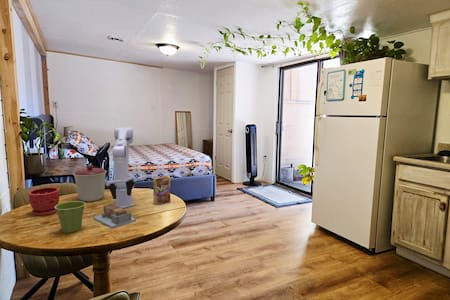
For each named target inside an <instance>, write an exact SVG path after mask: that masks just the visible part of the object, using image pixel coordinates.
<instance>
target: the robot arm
mask: <svg viewBox="0 0 450 300" xmlns="http://www.w3.org/2000/svg"><path fill="white" fill-rule="evenodd" d="M113 137H114V141H115V143H114V146H113V147H112V149H111V152H112V153H111V154H112V158H113V159H112V161H113V166H114V167H113V168H114V169H113V171H114V179H110V180H105V186H106V187H107V188H108V189H109V192H110V193H111V197H112V199H113V200H115V203H114V204H113V205H115V206H117V207H120V208H122V209H125V208H129V207H133V206H135V205H136V203H134V202H133V194H132V193H133V189H134V188H135V181H136V176H134V174H133V173H132V172H130V171H129V170H130V169H129V168H130V167H129V165H130V164H129V163H130V162H129V148H130V145H131V144H132V143H133V141H134V129H133V127H132V126H131V127H116V126H115V127H114V128H113Z"/></svg>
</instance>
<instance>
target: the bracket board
mask: <svg viewBox="0 0 450 300" xmlns="http://www.w3.org/2000/svg"><path fill="white" fill-rule="evenodd" d="M92 219H93V220H94V221H96V222H99V223H101V224H103V225H105V226H106V227H108V228H110V229H115V228H118V227H121V226H124V225H128V224H131V223H133V222H136V221H137V218H134V217H133V216H132V213H131V212H130V211H127V214H124V215H120V216H116V215H113V214H112V215H111V219H109V218H107V217H105V213H104V212H102V213H101V214H98V215H95V216H93V218H92Z"/></svg>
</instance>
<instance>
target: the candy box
mask: <svg viewBox="0 0 450 300" xmlns="http://www.w3.org/2000/svg"><path fill="white" fill-rule="evenodd" d="M152 178H153V181H152V182H153V187H152V188H153V189H152V190H153V204H154V205H156V206H157V205H164V204H170V203H171V176H169V175H166V176H164V175H163V176H156V177H152Z"/></svg>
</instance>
